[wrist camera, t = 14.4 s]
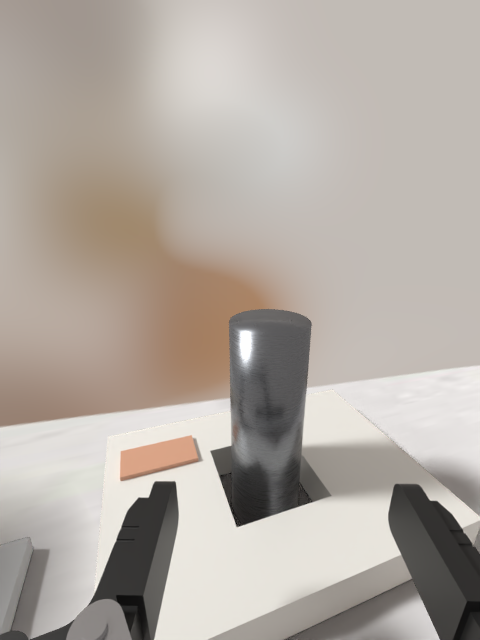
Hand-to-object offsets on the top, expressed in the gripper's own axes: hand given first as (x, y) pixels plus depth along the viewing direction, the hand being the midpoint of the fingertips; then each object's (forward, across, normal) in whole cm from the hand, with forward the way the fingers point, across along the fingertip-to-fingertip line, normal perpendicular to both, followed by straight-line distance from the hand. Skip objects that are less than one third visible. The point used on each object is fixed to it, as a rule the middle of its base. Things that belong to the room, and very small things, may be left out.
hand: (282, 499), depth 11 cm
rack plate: (+7, 0, +8) cm, 11 cm away
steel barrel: (+7, 0, +9) cm, 11 cm away
